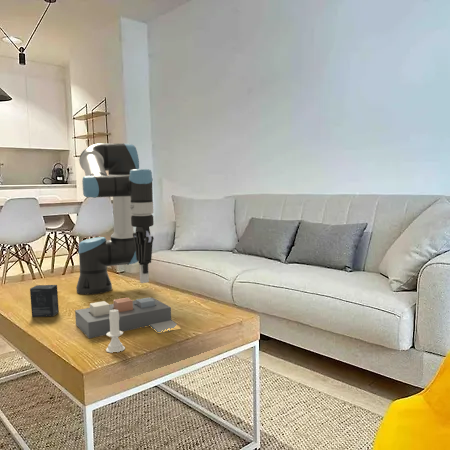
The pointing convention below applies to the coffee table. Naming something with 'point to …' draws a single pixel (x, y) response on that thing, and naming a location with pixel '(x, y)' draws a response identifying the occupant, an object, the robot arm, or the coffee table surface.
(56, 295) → the box
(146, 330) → the coffee table surface
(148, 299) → the slate key
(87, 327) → the key panel
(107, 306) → the ivory key
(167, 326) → the smartphone
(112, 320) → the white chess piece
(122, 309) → the terracotta key
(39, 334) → the coffee table surface
